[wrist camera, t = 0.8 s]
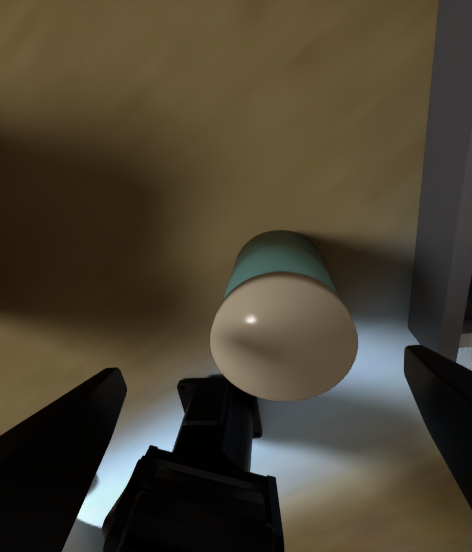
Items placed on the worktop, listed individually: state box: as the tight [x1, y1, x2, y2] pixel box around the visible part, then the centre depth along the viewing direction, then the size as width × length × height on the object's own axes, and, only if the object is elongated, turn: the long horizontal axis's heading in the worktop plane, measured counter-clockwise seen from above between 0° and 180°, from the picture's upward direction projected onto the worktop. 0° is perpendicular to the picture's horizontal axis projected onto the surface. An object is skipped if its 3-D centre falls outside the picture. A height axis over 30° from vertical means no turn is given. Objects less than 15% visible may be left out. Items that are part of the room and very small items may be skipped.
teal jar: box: [210, 230, 358, 401], centre depth 16 cm, size 6×6×8 cm
